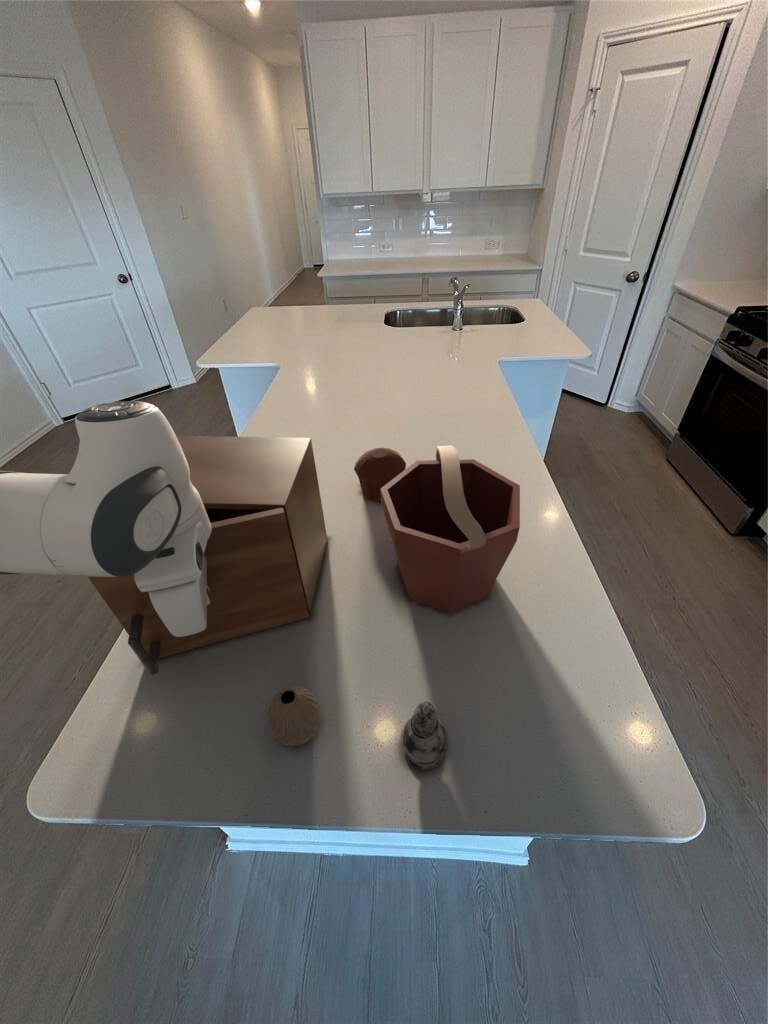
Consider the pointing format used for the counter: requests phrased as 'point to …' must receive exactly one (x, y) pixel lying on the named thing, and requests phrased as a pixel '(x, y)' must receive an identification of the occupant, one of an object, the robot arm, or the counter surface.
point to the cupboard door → (220, 589)
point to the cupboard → (263, 489)
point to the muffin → (378, 470)
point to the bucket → (451, 528)
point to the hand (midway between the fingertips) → (204, 599)
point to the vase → (294, 716)
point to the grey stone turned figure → (424, 737)
